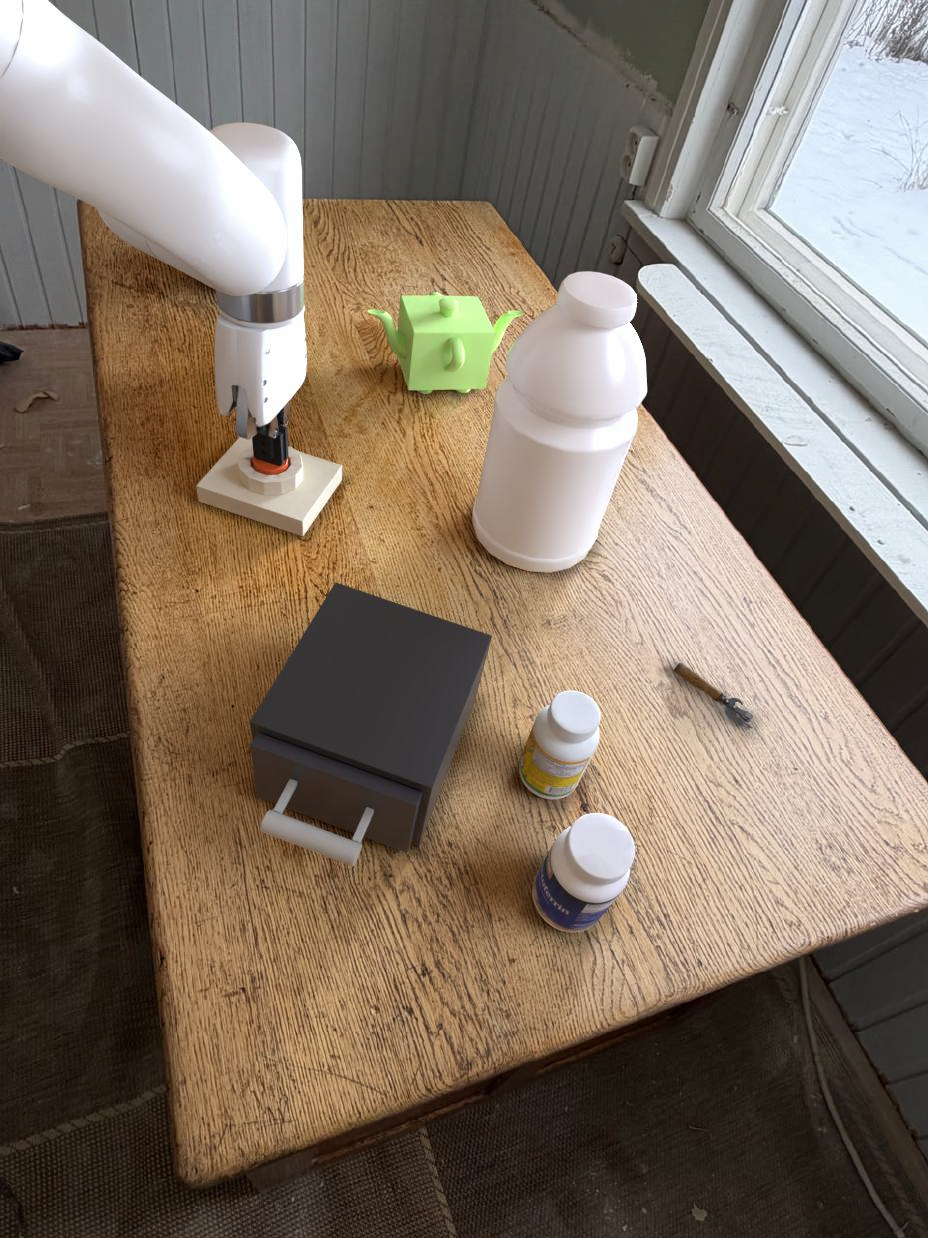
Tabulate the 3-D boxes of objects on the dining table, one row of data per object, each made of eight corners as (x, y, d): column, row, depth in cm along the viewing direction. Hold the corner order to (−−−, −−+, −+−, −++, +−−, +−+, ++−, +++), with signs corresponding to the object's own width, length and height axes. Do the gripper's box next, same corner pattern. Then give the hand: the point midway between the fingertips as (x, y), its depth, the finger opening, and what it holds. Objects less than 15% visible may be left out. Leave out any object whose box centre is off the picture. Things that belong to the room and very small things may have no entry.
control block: (198, 501, 82) (193, 472, 79) (244, 448, 89) (241, 419, 86) (303, 536, 81) (302, 508, 78) (342, 480, 87) (342, 452, 84)
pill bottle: (518, 875, 61) (546, 819, 53) (580, 851, 63) (616, 794, 55) (551, 947, 58) (586, 897, 50) (616, 919, 60) (659, 868, 52)
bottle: (444, 528, 85) (485, 280, 63) (515, 472, 93) (573, 234, 71) (551, 596, 80) (632, 353, 59) (616, 530, 88) (708, 296, 67)
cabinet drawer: (386, 906, 57) (394, 862, 51) (229, 846, 58) (218, 796, 52) (461, 715, 68) (475, 661, 62) (329, 668, 70) (329, 611, 64)
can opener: (670, 672, 76) (675, 665, 75) (684, 660, 77) (688, 653, 76) (746, 735, 72) (751, 729, 72) (759, 722, 74) (764, 716, 73)
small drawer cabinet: (418, 847, 61) (432, 788, 54) (257, 787, 62) (249, 721, 55) (474, 702, 71) (492, 635, 63) (334, 653, 72) (335, 581, 65)
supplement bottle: (556, 813, 65) (585, 755, 57) (505, 774, 66) (527, 712, 59) (590, 771, 68) (622, 710, 60) (540, 734, 69) (566, 671, 62)
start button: (247, 476, 82) (246, 463, 80) (263, 457, 84) (262, 444, 83) (278, 487, 81) (278, 473, 80) (294, 467, 84) (293, 454, 82)
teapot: (511, 376, 106) (527, 302, 98) (466, 423, 98) (479, 347, 90) (414, 335, 109) (421, 260, 101) (363, 378, 101) (366, 300, 93)
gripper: (261, 245, 73) (271, 410, 87) (174, 317, 63) (201, 489, 77) (335, 267, 72) (333, 429, 86) (259, 344, 62) (271, 513, 76)
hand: (271, 457), depth 82 cm, fingers closed
